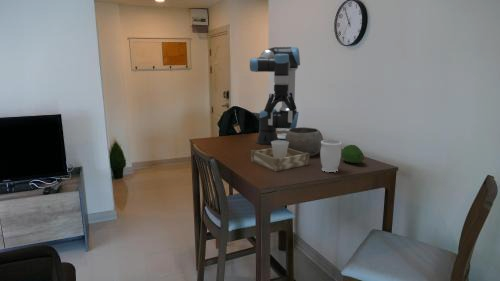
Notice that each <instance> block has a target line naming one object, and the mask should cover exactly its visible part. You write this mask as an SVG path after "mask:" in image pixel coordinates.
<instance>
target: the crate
mask: <svg viewBox="0 0 500 281" xmlns="http://www.w3.org/2000/svg"><path fill="white" fill-rule="evenodd" d="M309 154H310V153H307V152H306V153H303V152H300V151H297V150H293V149H290V148H288V149H287V154H286V157H284V158H274V157H273V150H272V147H271V148H263V149H257V150H256V149H251V150H250V163H255V164H256V165H260V166H262V167H264V168H267V169H269V170H272V171H274V172H276V171H277V172H280V171H284V170H289V169H293V168H297V167H303V166H309V165H310V157H309Z"/></svg>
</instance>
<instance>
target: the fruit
mask: <svg viewBox="0 0 500 281" xmlns="http://www.w3.org/2000/svg"><path fill="white" fill-rule="evenodd" d="M341 158H342V159H343V161H345V162H347V163H349V162H350V163H349V164H356V163H361V162H363V161H364V160H365V156H364V153H363V151H362V150H361V149H360V148H359V146H357V145H356V144H349V145H345V146H344V147H343V148H342V149H341Z"/></svg>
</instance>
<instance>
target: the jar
mask: <svg viewBox="0 0 500 281" xmlns="http://www.w3.org/2000/svg"><path fill="white" fill-rule="evenodd" d="M342 143H343V142H341V141H340V140H335V139H334V140H332V139H326V140H325V139H323V141H321V144H322V146H321V150H320V152H319V156H320V164H321V166H322V167H321V171H323V172H324V171H325V172H324V173H329V172H334V173H337V172H338V171H339V169H338V168H339V166H340V162H341V158H342V155H341V152H342V147H341V146H342ZM336 171H337V172H336Z"/></svg>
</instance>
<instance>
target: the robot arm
mask: <svg viewBox="0 0 500 281" xmlns="http://www.w3.org/2000/svg"><path fill="white" fill-rule="evenodd" d="M300 56H301V55H300V51H299V48H298V47H297V46H279V47H278V46H275V47H271V48H268V49H265V50H263V51H262V52H261V54H260V56H258V57H252V58H250V60H249V70H250V71H251V72H255V73H259V72H260V73H265V72H266V73H269V72H270V73H273V82H274V84H273V91H274V93H269V95H268V99H267V102H266V105H265V107H264V110H261V111H259V117H258V118H259V120H258V122H259V123H258V125H259V131H258V135H257V138H256V143H257V144H259V145H262V146H263V145H265V146H266V145H267V146H268V145H269V146H272V144H271V142H272V141H277V140H279V137H278V134H277V129H288V130H290V129H292V128H297V124H298V120H299V111H297V106H296V103H295V100H296V98H295V97H296V95H295V94H296V92H295V91H296V72H297V70H298V68H299V66H300V65H301V58H300ZM278 103H281V107H280V108H279V110H277V108H276V106H277V104H278Z"/></svg>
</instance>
